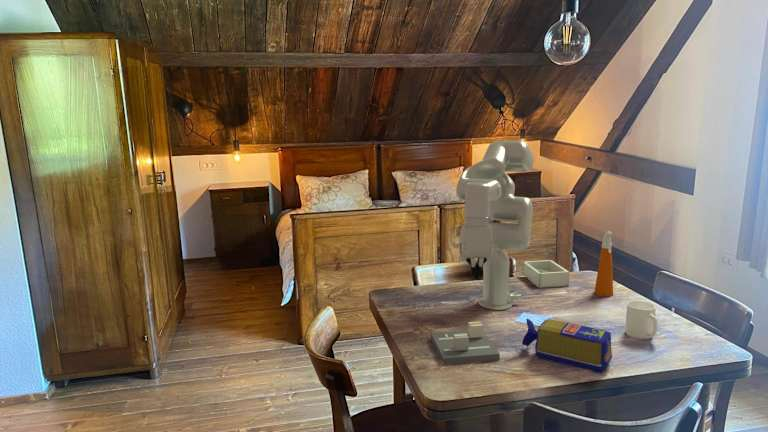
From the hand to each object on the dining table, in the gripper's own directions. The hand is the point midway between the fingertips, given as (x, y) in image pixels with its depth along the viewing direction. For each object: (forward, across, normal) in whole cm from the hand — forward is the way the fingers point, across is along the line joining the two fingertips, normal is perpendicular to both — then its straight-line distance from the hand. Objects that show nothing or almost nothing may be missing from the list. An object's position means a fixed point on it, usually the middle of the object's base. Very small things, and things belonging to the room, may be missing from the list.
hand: (475, 277), depth 171 cm
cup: (+20, -54, +6) cm, 58 cm away
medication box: (+20, -44, -54) cm, 73 cm away
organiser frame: (+19, -44, -54) cm, 72 cm away
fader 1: (+18, +7, +12) cm, 23 cm away
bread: (+21, -23, +18) cm, 36 cm away
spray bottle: (+20, -60, -32) cm, 71 cm away
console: (+20, +6, +8) cm, 23 cm away
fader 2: (+18, +1, +4) cm, 18 cm away
